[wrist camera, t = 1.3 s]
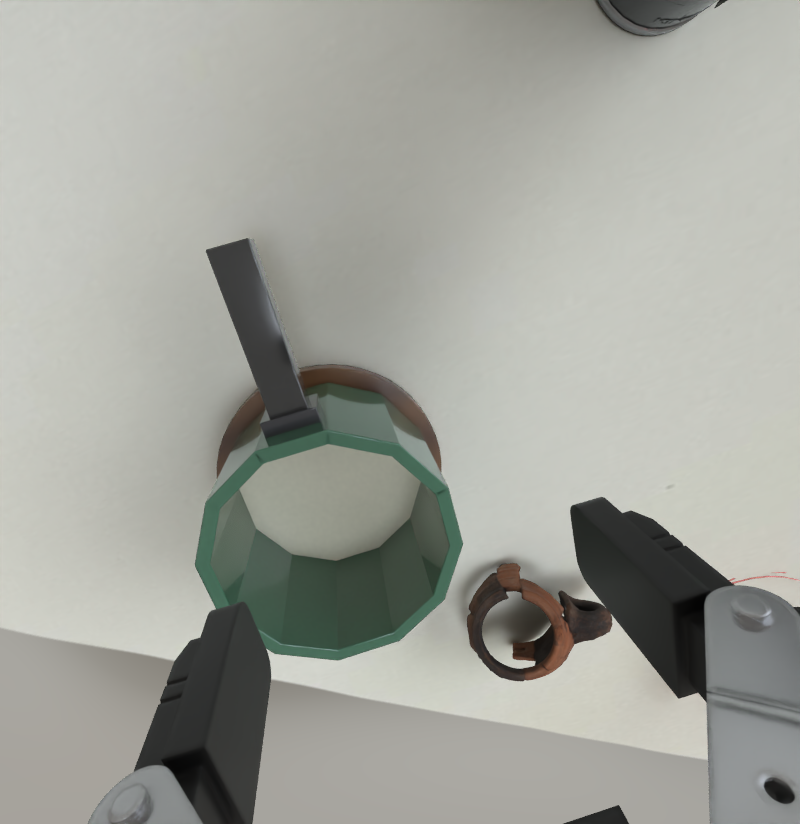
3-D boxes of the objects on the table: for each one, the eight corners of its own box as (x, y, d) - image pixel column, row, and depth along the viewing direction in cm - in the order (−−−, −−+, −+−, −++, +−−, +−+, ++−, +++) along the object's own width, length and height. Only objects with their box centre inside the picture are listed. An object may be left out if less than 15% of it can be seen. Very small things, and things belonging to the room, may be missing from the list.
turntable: (178, 414, 36) (173, 420, 35) (396, 330, 36) (398, 332, 35) (277, 591, 41) (275, 601, 40) (464, 517, 42) (468, 525, 40)
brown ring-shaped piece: (486, 660, 47) (478, 704, 39) (461, 562, 49) (448, 586, 41) (615, 640, 45) (635, 683, 37) (585, 537, 46) (598, 557, 38)
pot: (446, 529, 40) (481, 615, 31) (272, 583, 39) (254, 688, 30) (360, 215, 32) (373, 199, 22) (139, 277, 31) (57, 287, 22)
